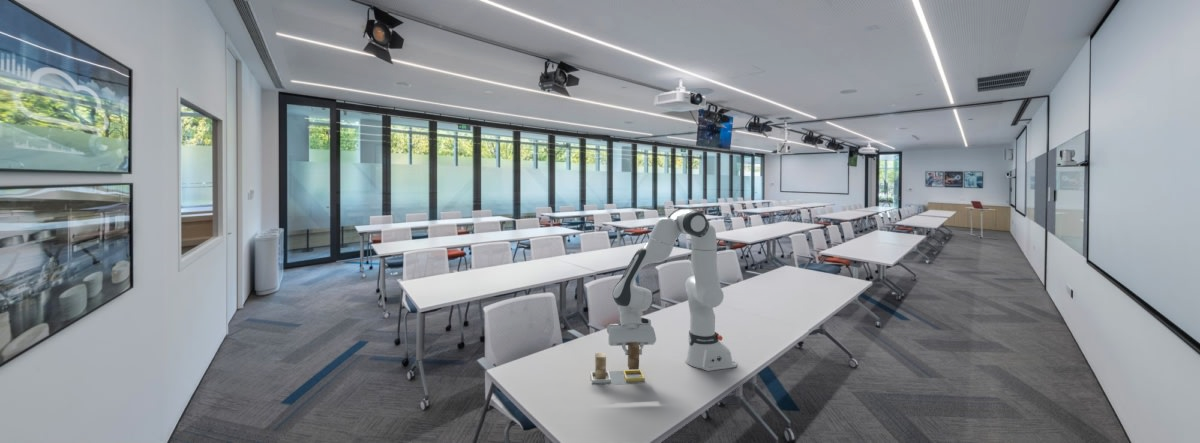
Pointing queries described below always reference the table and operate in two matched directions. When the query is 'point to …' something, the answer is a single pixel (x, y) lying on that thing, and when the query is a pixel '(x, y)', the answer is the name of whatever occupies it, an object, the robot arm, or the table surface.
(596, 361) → the oak pillar
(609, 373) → the base plate
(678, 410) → the table surface
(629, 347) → the walnut pillar
